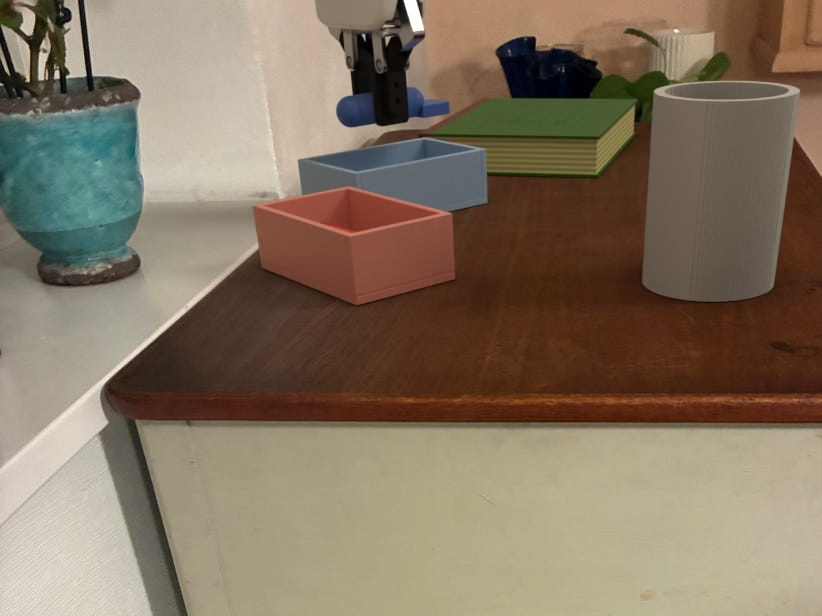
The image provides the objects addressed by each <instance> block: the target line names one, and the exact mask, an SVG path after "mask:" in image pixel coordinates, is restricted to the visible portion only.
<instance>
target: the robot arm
mask: <svg viewBox="0 0 822 616" xmlns="http://www.w3.org/2000/svg"><path fill="white" fill-rule="evenodd" d="M314 6H315V12H316V16H317V19H318V20H319V22H320V23H321V24H322V25H323V26H325V27H327V30H328V32H329V34H330V35H331V36H332V37H333V38H334V39H335V40H336V41H337V42H338V43H339V45H340V47H341V48H342V50H343V52H344V60H345V66H346V68H347V69H348V70H349V72H350V81H351V82H350V83H351V91H352V92H351V93H352V95H357V94H364V93H371V92H373V101H374V111H375V122H376V124H375V125H376V126H378V127H388V126H394V125H400V124H406V123H408V122H409V119H410V118H409V110H408V95H407V87H408V82H407V71H408V70H409V68H410V65H411V62H410V56H411V54H412V52H413V50H414V48H415V47H416V46H417V45H419V44H420V43H421V42H422V41H423V40H424V39H425V38H426V29H425V26H424V23H423V18H424V17H425V11H426V0H314ZM385 25H386V27H384V26H385ZM363 35H364V36H363ZM388 37H390V38H389V40H388V41H387V40H386V38H388Z"/></svg>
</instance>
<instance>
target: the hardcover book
mask: <svg viewBox="0 0 822 616" xmlns="http://www.w3.org/2000/svg"><path fill="white" fill-rule="evenodd" d="M637 103H638V98H525V97H523V98H521V97H520V98H515V97H514V98H511V97H509V98H508V97H507V98H506V97H505V98H504V97H502V98H501V97H500V98H499V97H483V98H481V99H478V100H477V101H475V102H473V103H471V104H470V105H468V106H466V107H464V108H462V109H460V110H459V111H457V112H454V113H453V114H452V115H450V116H447V117H445V118H444V119H442V120H441V121H439V122H436V123H435V124H433V125H431V126H429V127H428V128H426V129H424V130H422V131H421V132H418V133H417V139H418V138H424V137H426V138H431V139H437V140H442V141H447V142H452V143H458V144H463V145H468V146H474V147H479V148H484V149H486V163H487V176H506V177H507V176H509V177H510V176H511V177H547V178H549V177H550V178H585V179H598V178H599V177H600V176H601V175H602V174H603V173H604V172H605V171H606V169H607V168H608V167H609V166H610V165H611V164H612V163H613V161H615V159H616V158H617V157H618V156H619V155H620V153H622V151H623V150H624V149H625V148H626V146H628V144H629V143H630V142H631V141H632V140H633V139H634V138H635V136H636V135H637V132H635V131H634V129H635V114H636V113H635V111H636V110H635V109H636V104H637Z"/></svg>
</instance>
